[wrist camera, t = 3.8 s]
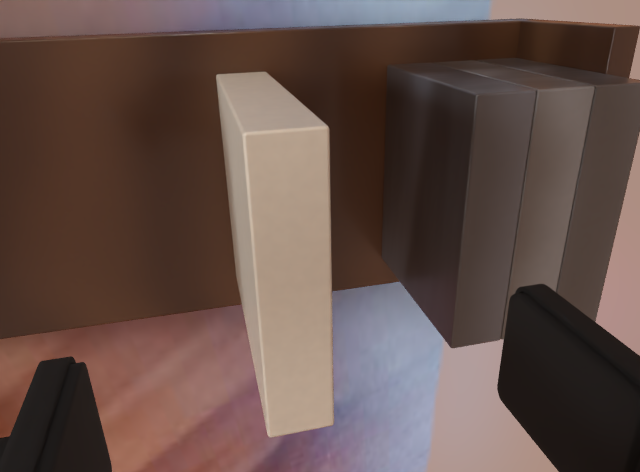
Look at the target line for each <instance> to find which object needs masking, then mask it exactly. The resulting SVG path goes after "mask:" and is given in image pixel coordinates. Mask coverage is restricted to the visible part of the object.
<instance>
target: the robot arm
mask: <svg viewBox="0 0 640 472" xmlns="http://www.w3.org/2000/svg"><path fill="white" fill-rule="evenodd" d="M498 393H499V397H500V399H501V401H502V402H503V403H504V404H505V406H506V407H507V408H508V410H510V412H511V413H512V415H513V416H514V417H515V418H516V419H517V421H518V422H519V423H520V424H521V426H522V427H523V428H524V429H525V430H526V432H527V433H528V434H529V435H530V437H531V438H532V439H533V440H534V442H535V443H536V444H537V445H538V446H539V448H540V449H541V450H542V451H543V453H544V454H545V455H546V456H547V458H548V459H549V460H550V461H551V463H552V464H553V465H554V466H555V467H556V469H557V470H558V471H559V472H640V356H639V355H637V354H636V353H635V352H634V351H632V350H631V349H630V348H628V347H627V346H626V345H624V344H623V343H622V342H620V341H619V340H618V339H616V338H615V337H614V336H613V335H611V334H610V333H609V332H607V331H606V330H605V329H603V328H602V327H601V326H599V325H598V324H597V323H596V322H594V321H593V320H592V319H590V318H589V317H588V316H586V315H585V314H584V313H583V312H581V311H580V310H579V309H577V308H576V307H575V306H573V305H572V304H571V303H569V302H568V301H567V300H565V299H564V298H563V297H562V296H560V295H559V294H558V293H556V292H555V291H554V290H552V289H551V288H550V287H548V286H547V285H545V284H536V285H529V286H523V287H519V288H518V289H517V290H516V292H515V294H513V295H512V296H511V297H510V300H509V307H508V314H507V321H506V328H505V336H504V343H503V350H502V357H501V364H500V371H499V379H498ZM0 472H112V467H111V461H110V457H109V453H108V449H107V445H106V441H105V437H104V433H103V429H102V425H101V421H100V417H99V413H98V409H97V406H96V402H95V398H94V394H93V390H92V386H91V382H90V378H89V374H88V370H87V367H86V364H85V363H84V362H81V363H76V362H75V360H74V358H73V357H65V358H59V359H52V360H46V361H41V362H40V363H39V365H38V367H37V369H36V372H35V374H34V377H33V379H32V382H31V385H30V387H29V390H28V392H27V395H26V397H25V400H24V402H23V405H22V407H21V410H20V412H19V415H18V417H17V420H16V422H15V425H14V427H13V430H12V432H11V435H10V437H4V438H0Z"/></svg>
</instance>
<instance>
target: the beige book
mask: <svg viewBox="0 0 640 472" xmlns="http://www.w3.org/2000/svg"><path fill="white" fill-rule="evenodd" d="M216 82H217V92H218V101H219V111H220V121H221V131H222V141H223V150H224V160H225V170H226V180H227V190H228V200H229V209H230V219H231V229H232V239H233V249H234V258H235V268H236V277H237V282H238V287H239V292H240V298H241V303H242V308H243V313H244V318H245V323H246V328H247V333H248V338H249V343H250V348H251V353H252V358H253V363H254V368H255V374H256V379H257V384H258V389H259V394H260V399H261V404H262V409H263V414H264V419H265V424H266V429H267V434H268V436H269V437H276V436H281V435H286V434H291V433H297V432H302V431H307V430H312V429H317V428H322V427H327V426H332V425H333V424H334V393H333V329H332V264H331V200H330V135H329V127H328V126H327V125H326V124H325V123H324V122H323V121H322V120H320V119H319V118H318V117H317V116H316V115H315V114H314V113H312V112H311V111H310V110H309V109H308V108H307V107H306V106H304V105H303V104H302V103H301V102H300V101H299V100H298V99H296V98H295V97H294V96H293V95H292V94H291V93H290V92H288V91H287V90H286V89H285V88H284V87H283V86H282V85H280V84H279V83H278V82H277V81H276V80H275V79H274V78H272V77H271V76H270V75H269V74H268V73H267V72H249V73H231V74H218V75H216Z"/></svg>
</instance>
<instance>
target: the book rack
mask: <svg viewBox="0 0 640 472" xmlns="http://www.w3.org/2000/svg"><path fill="white" fill-rule="evenodd" d="M639 29H640V26H632V25H616V24H599V23H584V22H567V21H549V20H533V19H501V20H474V21H448V22H421V23H395V24H368V25H342V26H316V27H289V28H263V29H237V30H210V31H184V32H157V33H131V34H105V35H78V36H52V37H26V38H0V339H4V338H11V337H18V336H25V335H32V334H39V333H46V332H52V331H59V330H66V329H73V328H80V327H87V326H94V325H101V324H108V323H115V322H122V321H129V320H136V319H143V318H150V317H157V316H164V315H171V314H178V313H185V312H191V311H198V310H205V309H212V308H219V307H226V306H233V305H240V304H242V303H241V298H240V292H239V287H238V282H237V277H236V268H235V258H234V249H233V239H232V229H231V219H230V209H229V200H228V190H227V180H226V170H225V160H224V150H223V141H222V131H221V121H220V111H219V101H218V92H217V82H216V75H218V74H231V73H249V72H267V73H268V74H269V75H270V76H271V77H272V78H274V79H275V80H276V81H277V82H278V83H279V84H280V85H282V86H283V87H284V88H285V89H286V90H287V91H288V92H290V93H291V94H292V95H293V96H294V97H295V98H296V99H298V100H299V101H300V102H301V103H302V104H303V105H304V106H306V107H307V108H308V109H309V110H310V111H311V112H312V113H314V114H315V115H316V116H317V117H318V118H319V119H320V120H322V121H323V122H324V123H325V124H326V125H327V126H328V127H329V135H330V200H331V264H332V291H337V290H344V289H351V288H358V287H365V286H372V285H379V284H386V283H393V282H401V284H402V285H403V286H404V287H405V289H406V290H407V291H408V293H409V294H410V295H411V297H412V298H413V299H414V300H415V302H416V303H417V304H418V306H419V307H420V308H421V310H422V311H423V312H424V313H425V315H426V316H427V317H428V319H429V320H430V321H431V322H432V324H433V325H434V326H435V328H436V329H437V330H438V332H439V333H440V334H441V335H442V337H443V338H444V339H445V341H446V342H447V343H448V345H449V346H450V347H451V348H457V347H463V346H468V345H474V344H480V343H485V342H491V341H497V340H500V339H504V336H505V328H506V321H507V314H508V307H509V300H510V297H511V296H512V295H513V294H515V292H516V290H517V289H518V288H519V287H523V286H529V285H536V284H545V285H547V286H548V287H550V288H551V289H552V290H554V291H555V292H556V293H558V294H559V295H560V296H562V297H563V298H564V299H565V300H567V301H568V302H569V303H571V304H572V305H573V306H575V307H576V308H577V309H579V310H580V311H581V312H583V313H584V314H585V315H586V316H588V317H589V318H590V319H592V320H593V321H594V322H595V321H596V316H597V312H598V308H599V303H600V299H601V295H602V290H603V286H604V282H605V278H606V273H607V269H608V265H609V261H610V256H611V252H612V247H613V243H614V239H615V235H616V230H617V226H618V222H619V218H620V213H621V209H622V204H623V200H624V196H625V192H626V188H627V183H628V179H629V175H630V170H631V166H632V161H633V158H634V153H635V149H636V144H637V140H638V136H639V132H640V80H636V79H631V78H629V75H630V71H631V66H632V62H633V57H634V52H635V48H636V43H637V38H638V34H639Z"/></svg>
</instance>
